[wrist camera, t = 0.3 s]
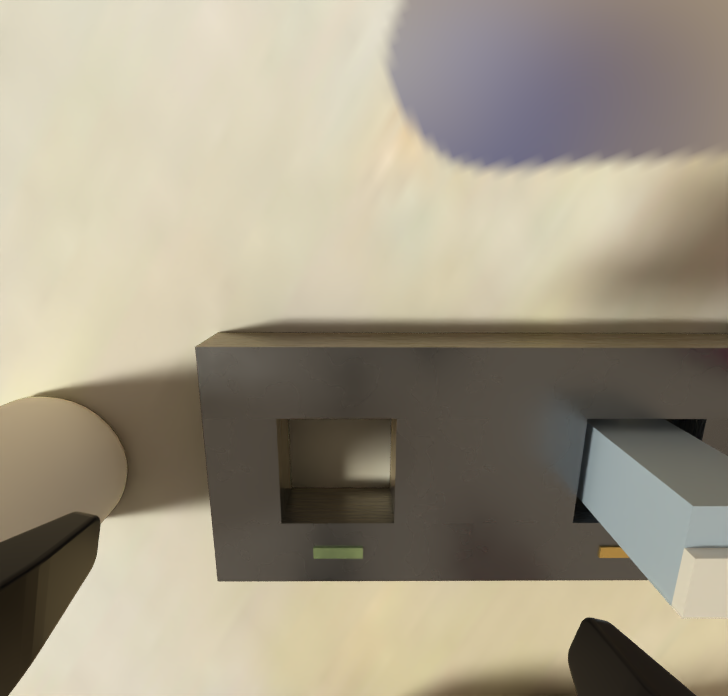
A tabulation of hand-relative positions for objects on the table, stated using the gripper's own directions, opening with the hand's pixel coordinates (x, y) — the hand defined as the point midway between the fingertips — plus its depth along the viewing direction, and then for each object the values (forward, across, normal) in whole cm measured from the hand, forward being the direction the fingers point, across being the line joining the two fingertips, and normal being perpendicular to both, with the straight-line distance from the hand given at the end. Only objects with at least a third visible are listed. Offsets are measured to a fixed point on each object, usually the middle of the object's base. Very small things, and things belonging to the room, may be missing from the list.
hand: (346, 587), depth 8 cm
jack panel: (+14, -7, +3) cm, 16 cm away
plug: (+14, -14, +1) cm, 20 cm away
